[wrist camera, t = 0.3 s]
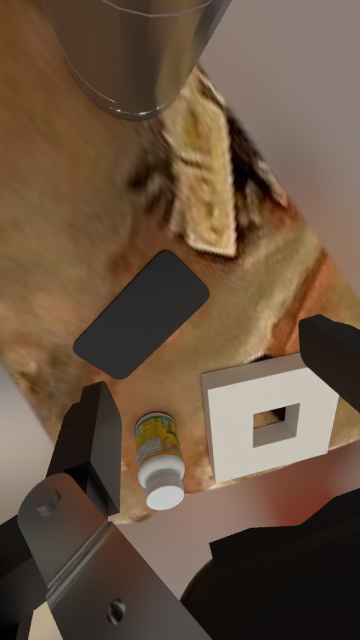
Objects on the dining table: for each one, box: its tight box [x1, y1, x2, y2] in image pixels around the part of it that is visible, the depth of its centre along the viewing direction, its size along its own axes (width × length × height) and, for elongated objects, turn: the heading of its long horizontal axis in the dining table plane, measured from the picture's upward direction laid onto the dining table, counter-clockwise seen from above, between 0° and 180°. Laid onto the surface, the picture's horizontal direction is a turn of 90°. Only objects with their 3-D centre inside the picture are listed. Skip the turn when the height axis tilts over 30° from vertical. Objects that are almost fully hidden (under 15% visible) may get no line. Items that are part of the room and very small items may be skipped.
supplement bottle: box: [135, 413, 185, 510], centre depth 32 cm, size 5×5×10 cm
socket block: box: [201, 353, 339, 483], centre depth 37 cm, size 18×18×3 cm
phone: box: [73, 251, 209, 379], centre depth 29 cm, size 7×1×15 cm
